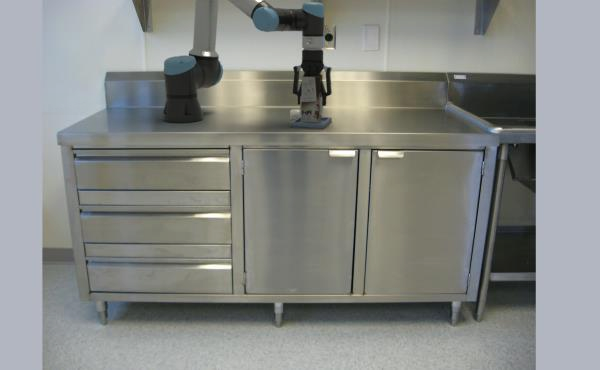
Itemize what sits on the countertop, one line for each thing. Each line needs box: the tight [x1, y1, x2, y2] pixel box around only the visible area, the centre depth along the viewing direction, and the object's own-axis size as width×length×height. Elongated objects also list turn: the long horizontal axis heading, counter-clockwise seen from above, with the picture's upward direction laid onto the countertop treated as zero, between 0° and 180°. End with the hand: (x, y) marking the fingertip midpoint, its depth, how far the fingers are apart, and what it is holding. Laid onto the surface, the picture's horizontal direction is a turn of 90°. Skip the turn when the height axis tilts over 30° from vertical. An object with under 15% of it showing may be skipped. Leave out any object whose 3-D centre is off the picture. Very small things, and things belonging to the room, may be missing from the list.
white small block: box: [289, 108, 301, 121], centre depth 194 cm, size 6×6×4 cm
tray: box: [290, 116, 333, 130], centre depth 184 cm, size 12×14×2 cm
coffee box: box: [301, 74, 323, 123], centre depth 181 cm, size 9×6×16 cm
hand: (311, 114), depth 183 cm, fingers closed on coffee box, 7 cm apart
